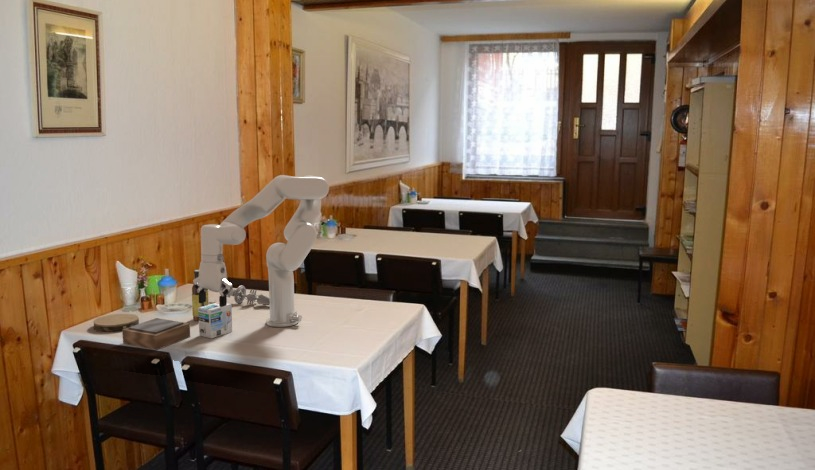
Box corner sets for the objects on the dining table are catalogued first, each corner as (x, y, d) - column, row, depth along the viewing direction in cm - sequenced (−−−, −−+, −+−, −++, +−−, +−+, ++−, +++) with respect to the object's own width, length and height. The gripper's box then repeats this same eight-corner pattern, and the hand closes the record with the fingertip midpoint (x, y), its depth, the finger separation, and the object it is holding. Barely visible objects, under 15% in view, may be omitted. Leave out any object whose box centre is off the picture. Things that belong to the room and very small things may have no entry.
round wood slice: (140, 319, 267) (139, 312, 266) (137, 330, 252) (137, 323, 251) (96, 323, 262) (96, 315, 261) (91, 334, 247) (90, 327, 246)
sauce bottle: (204, 322, 262) (202, 272, 259) (189, 321, 263) (187, 271, 260) (212, 317, 268) (210, 269, 265) (198, 316, 270) (195, 268, 266)
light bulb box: (211, 339, 241) (209, 310, 240) (198, 336, 245) (197, 307, 243) (233, 331, 250) (232, 303, 249) (220, 328, 254) (219, 301, 252)
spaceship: (214, 279, 300) (204, 276, 293) (280, 294, 288) (271, 292, 280) (209, 296, 299) (199, 293, 292) (275, 312, 286) (266, 310, 279)
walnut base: (190, 336, 244) (189, 321, 243) (156, 349, 230) (155, 334, 229) (157, 330, 251) (156, 316, 250) (123, 343, 236) (122, 328, 235)
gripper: (237, 259, 243) (238, 305, 245) (200, 254, 250) (201, 299, 252) (223, 262, 236) (224, 309, 238) (186, 257, 243) (187, 303, 246)
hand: (212, 304), depth 245 cm, fingers open, 9 cm apart
